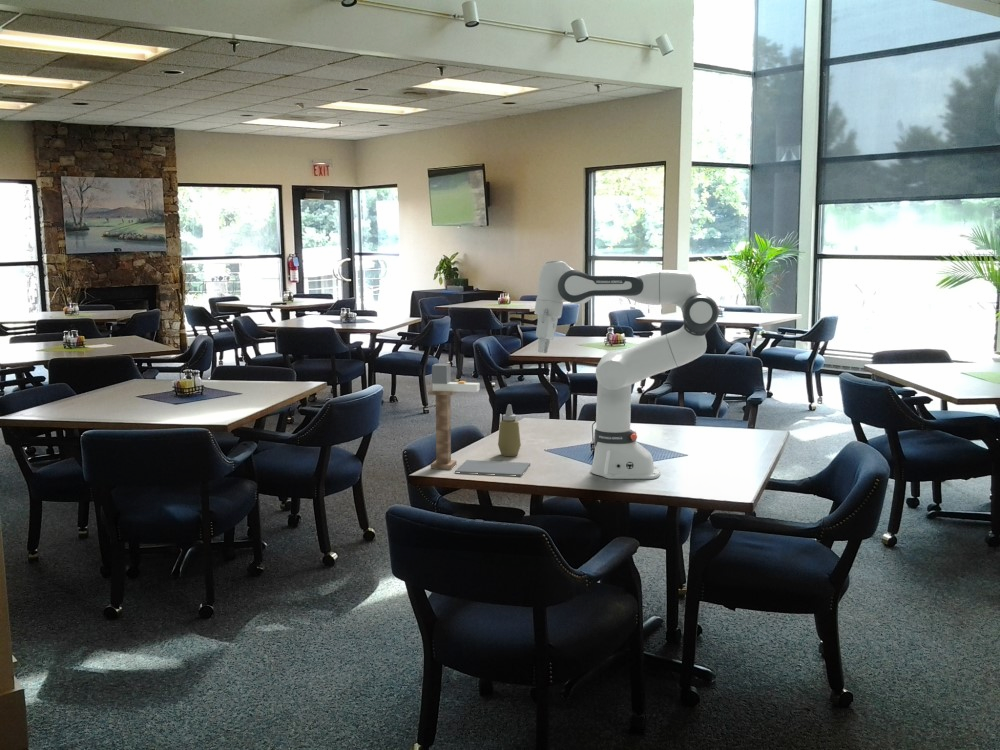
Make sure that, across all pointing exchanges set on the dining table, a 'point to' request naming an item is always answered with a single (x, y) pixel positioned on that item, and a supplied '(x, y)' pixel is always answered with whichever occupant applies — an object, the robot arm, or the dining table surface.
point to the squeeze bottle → (509, 434)
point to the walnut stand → (443, 430)
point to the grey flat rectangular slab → (493, 467)
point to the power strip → (457, 387)
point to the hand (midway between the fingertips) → (542, 352)
